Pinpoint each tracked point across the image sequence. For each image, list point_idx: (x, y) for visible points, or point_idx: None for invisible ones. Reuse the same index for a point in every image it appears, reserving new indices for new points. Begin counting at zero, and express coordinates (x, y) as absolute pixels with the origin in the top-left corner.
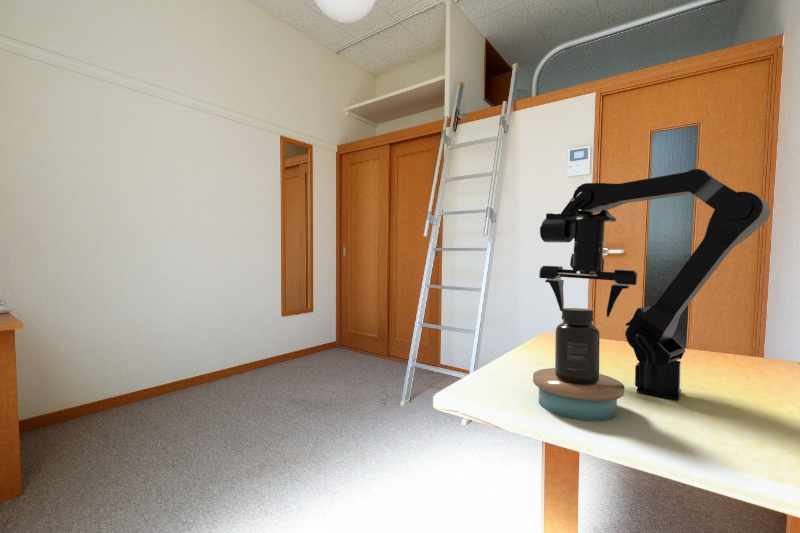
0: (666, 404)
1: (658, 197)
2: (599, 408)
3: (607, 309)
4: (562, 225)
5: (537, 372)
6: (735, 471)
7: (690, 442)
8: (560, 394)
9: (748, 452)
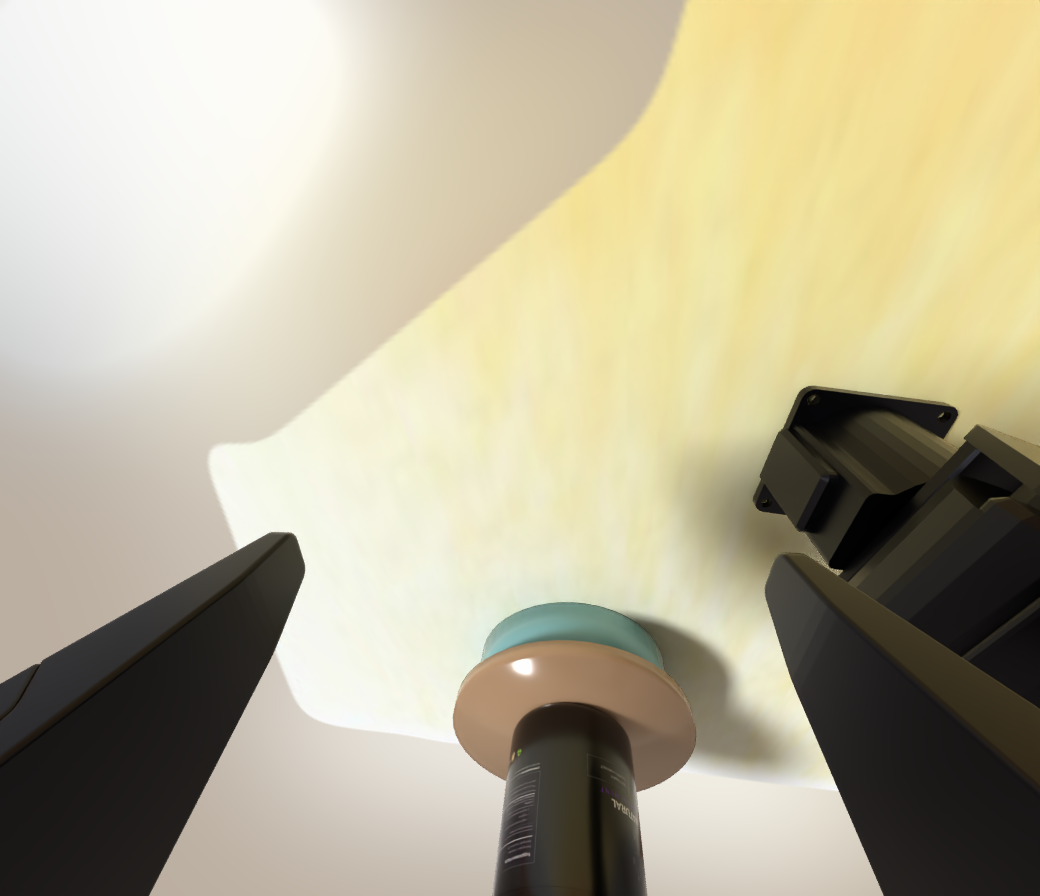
0: (820, 562)
1: None
2: None
3: (801, 694)
4: None
5: (460, 721)
6: (816, 781)
7: (785, 730)
8: None
9: None
